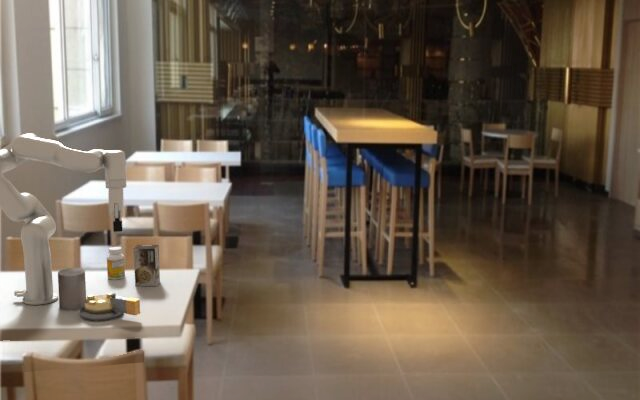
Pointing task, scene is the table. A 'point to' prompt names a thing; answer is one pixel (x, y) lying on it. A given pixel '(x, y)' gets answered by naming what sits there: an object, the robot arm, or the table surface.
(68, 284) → the pillar candle
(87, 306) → the gold disc lever
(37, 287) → the robot arm
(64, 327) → the table surface
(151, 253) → the coffee box
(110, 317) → the base plate
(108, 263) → the supplement bottle
